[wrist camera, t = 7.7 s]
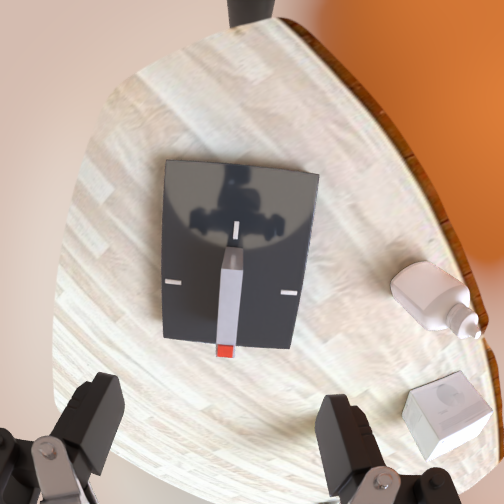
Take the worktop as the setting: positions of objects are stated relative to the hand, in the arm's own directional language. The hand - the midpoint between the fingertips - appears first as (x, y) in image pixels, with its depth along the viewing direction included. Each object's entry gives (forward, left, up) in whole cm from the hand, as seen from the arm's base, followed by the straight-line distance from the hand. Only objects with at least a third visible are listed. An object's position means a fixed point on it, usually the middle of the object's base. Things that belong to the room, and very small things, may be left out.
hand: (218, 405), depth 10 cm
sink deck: (0, 0, -18) cm, 18 cm away
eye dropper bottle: (+1, +19, -18) cm, 26 cm away
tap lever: (+2, 0, -14) cm, 15 cm away
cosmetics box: (+20, +32, -18) cm, 42 cm away
